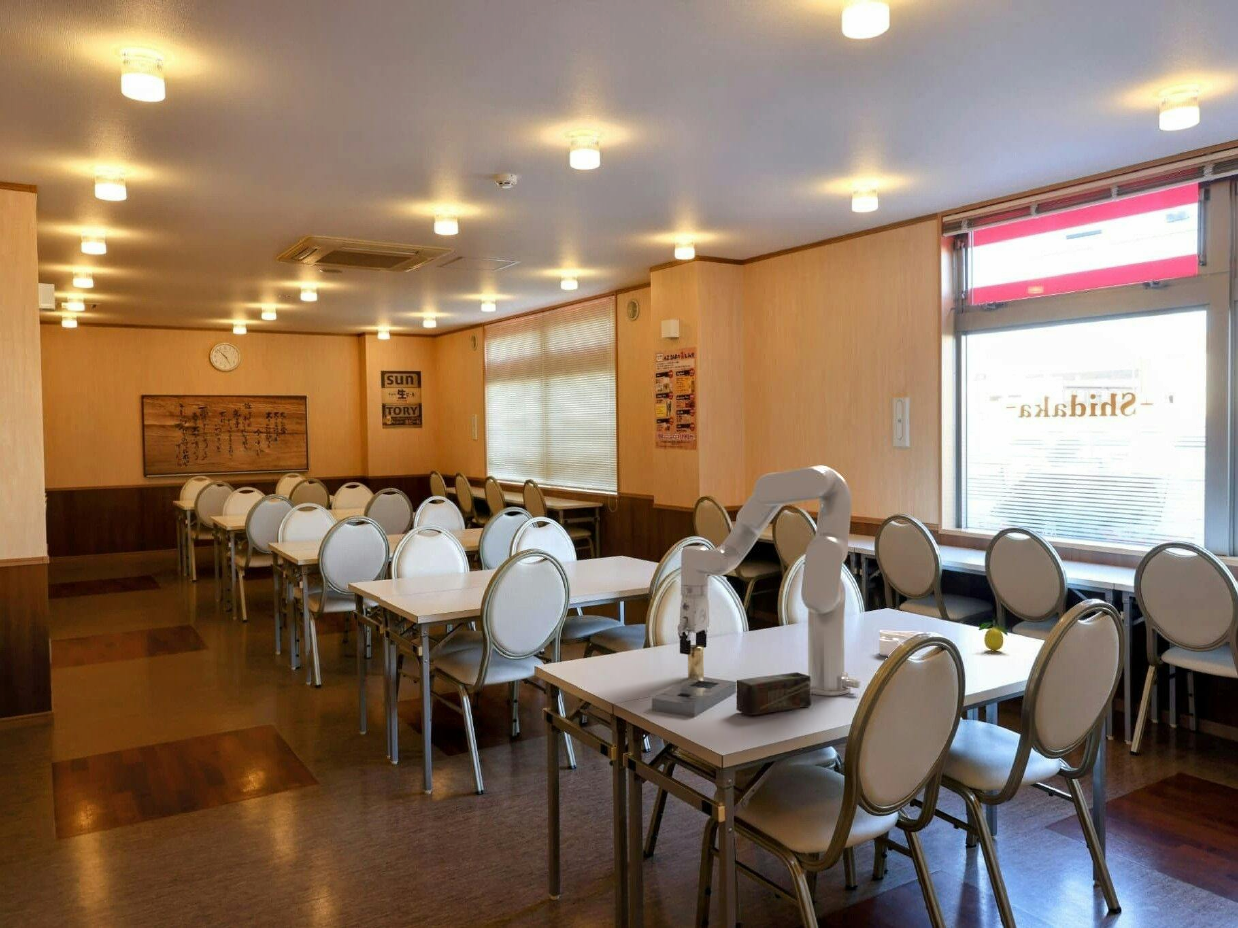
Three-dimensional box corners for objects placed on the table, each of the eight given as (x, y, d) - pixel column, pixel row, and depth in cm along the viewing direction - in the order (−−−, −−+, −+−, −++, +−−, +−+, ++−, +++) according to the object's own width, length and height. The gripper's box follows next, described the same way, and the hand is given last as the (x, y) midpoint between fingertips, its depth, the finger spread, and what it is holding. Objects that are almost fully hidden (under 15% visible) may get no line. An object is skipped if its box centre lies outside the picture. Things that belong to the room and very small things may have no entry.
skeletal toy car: (871, 656, 280) (871, 633, 280) (889, 650, 288) (888, 627, 288) (933, 667, 266) (933, 642, 266) (950, 660, 274) (950, 636, 274)
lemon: (978, 651, 284) (978, 619, 284) (987, 648, 288) (987, 616, 288) (999, 655, 279) (999, 622, 279) (1008, 652, 283) (1008, 620, 283)
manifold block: (735, 692, 243) (735, 681, 243) (694, 717, 223) (694, 704, 223) (695, 686, 250) (695, 675, 249) (651, 709, 229) (651, 698, 229)
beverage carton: (797, 702, 234) (813, 707, 228) (734, 711, 226) (749, 717, 220) (796, 671, 235) (813, 675, 229) (733, 679, 226) (748, 683, 220)
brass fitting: (706, 677, 259) (705, 645, 259) (699, 680, 255) (698, 648, 255) (692, 675, 262) (692, 643, 261) (685, 678, 258) (684, 647, 257)
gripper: (691, 596, 248) (691, 658, 249) (719, 587, 263) (718, 646, 264) (667, 593, 252) (666, 654, 253) (696, 584, 267) (695, 642, 268)
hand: (693, 650), depth 258 cm, fingers open, 9 cm apart
